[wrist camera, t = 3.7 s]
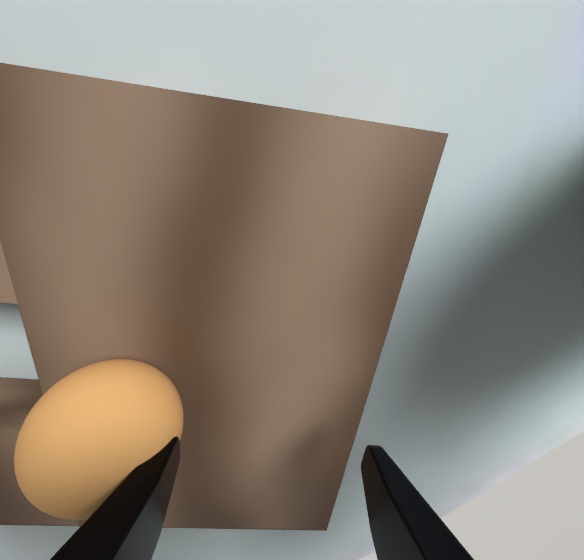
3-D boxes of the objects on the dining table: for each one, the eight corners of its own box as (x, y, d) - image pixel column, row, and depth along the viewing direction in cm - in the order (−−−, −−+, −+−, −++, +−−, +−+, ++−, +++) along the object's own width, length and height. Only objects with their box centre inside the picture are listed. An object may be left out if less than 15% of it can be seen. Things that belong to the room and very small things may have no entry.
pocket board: (407, 139, 10) (448, 133, 7) (319, 478, 17) (326, 530, 14) (-331, 26, 8) (-591, -32, 5) (-80, 465, 15) (-147, 522, 12)
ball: (210, 360, 9) (72, 485, 5) (209, 448, 10) (102, 590, 7) (115, 320, 10) (-50, 399, 6) (127, 405, 11) (0, 505, 8)
